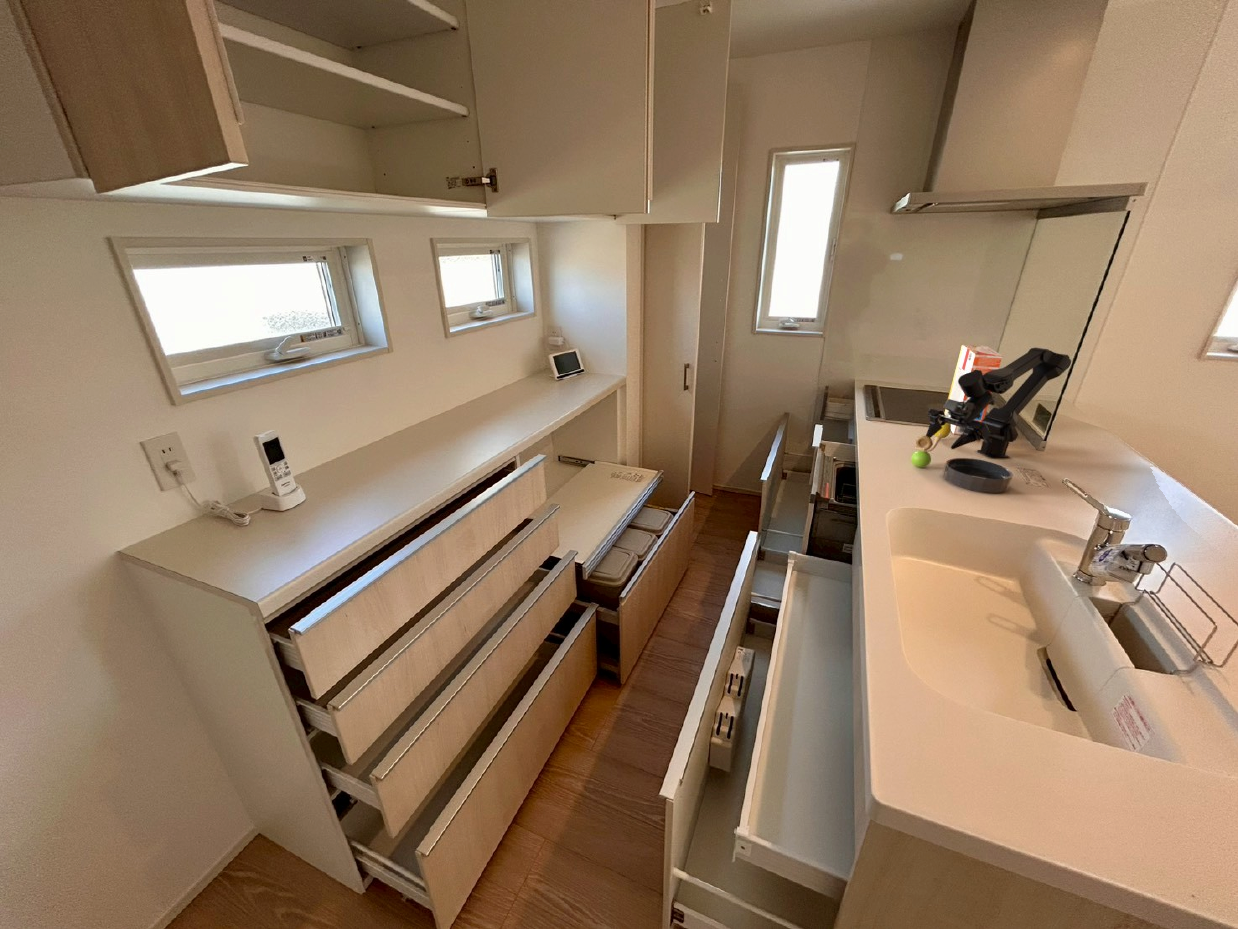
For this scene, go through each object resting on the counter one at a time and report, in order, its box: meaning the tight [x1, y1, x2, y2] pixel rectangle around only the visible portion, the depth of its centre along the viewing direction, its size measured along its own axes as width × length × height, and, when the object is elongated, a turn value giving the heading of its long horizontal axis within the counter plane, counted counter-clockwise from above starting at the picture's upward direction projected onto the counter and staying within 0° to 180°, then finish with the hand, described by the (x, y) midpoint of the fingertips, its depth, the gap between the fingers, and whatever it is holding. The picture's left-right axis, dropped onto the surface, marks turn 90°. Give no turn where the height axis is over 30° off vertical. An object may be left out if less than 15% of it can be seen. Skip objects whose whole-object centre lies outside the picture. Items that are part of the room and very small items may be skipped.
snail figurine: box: [910, 433, 941, 468], centre depth 156 cm, size 5×6×12 cm
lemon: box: [933, 423, 952, 440], centre depth 181 cm, size 6×6×8 cm
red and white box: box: [944, 344, 1003, 436], centre depth 191 cm, size 23×8×30 cm, turn 157°
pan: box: [942, 457, 1014, 494], centre depth 147 cm, size 16×16×4 cm
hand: (938, 443), depth 157 cm, fingers open, 9 cm apart
